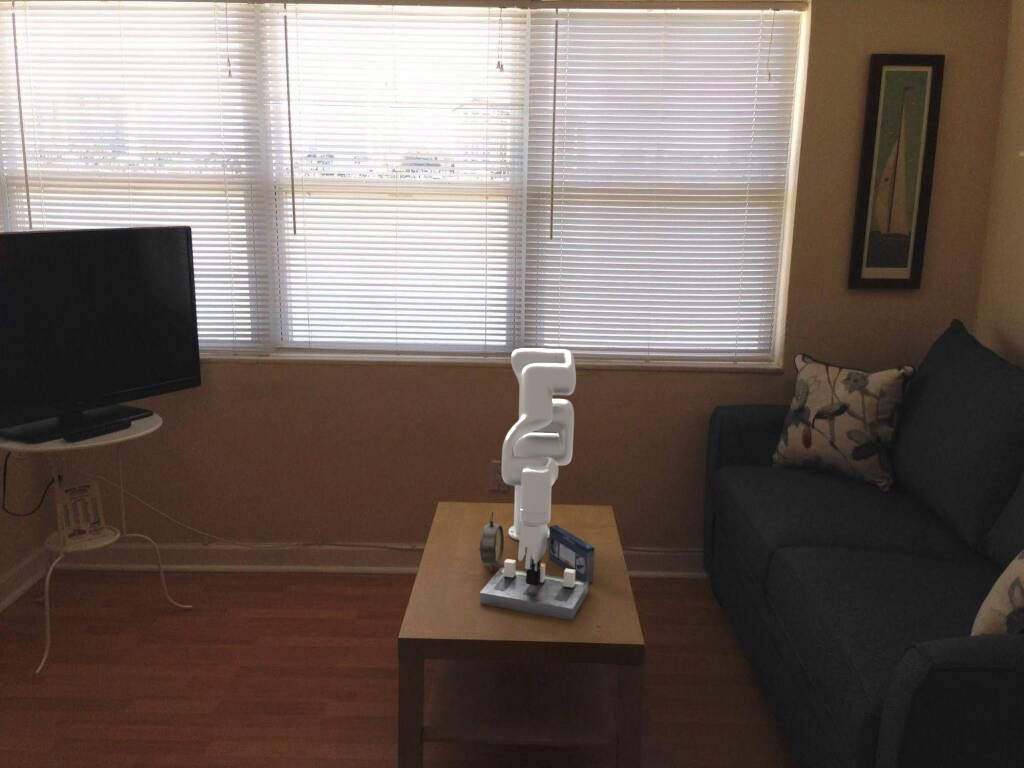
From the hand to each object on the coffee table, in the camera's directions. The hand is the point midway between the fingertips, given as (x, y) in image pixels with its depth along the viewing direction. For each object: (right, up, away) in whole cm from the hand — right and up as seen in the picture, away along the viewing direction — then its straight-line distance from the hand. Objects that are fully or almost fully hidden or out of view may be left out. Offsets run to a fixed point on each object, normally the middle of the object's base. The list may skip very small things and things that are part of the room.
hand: (532, 583), depth 229 cm
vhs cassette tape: (+11, -1, +20) cm, 23 cm away
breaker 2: (+9, -1, +3) cm, 10 cm away
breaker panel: (0, -4, +3) cm, 5 cm away
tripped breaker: (+2, 0, +5) cm, 6 cm away
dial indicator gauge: (-11, 0, +21) cm, 24 cm away
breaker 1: (-6, 0, +8) cm, 10 cm away
